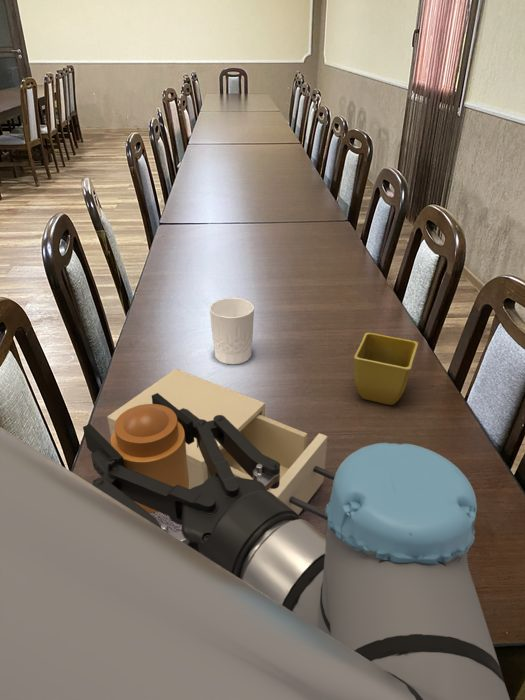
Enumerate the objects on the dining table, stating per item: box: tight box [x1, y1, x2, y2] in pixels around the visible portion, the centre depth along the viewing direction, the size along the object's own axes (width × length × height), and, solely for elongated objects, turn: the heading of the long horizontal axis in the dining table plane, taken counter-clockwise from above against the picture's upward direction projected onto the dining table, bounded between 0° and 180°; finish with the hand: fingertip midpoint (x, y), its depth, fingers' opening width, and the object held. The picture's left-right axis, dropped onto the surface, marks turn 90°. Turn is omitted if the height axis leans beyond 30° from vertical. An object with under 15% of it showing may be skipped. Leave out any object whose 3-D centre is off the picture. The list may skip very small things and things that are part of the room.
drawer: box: [207, 414, 336, 521], centre depth 67 cm, size 22×12×8 cm, turn 58°
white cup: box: [209, 297, 255, 365], centre depth 98 cm, size 8×8×10 cm
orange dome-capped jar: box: [109, 404, 189, 514], centre depth 54 cm, size 7×7×10 cm
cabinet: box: [106, 368, 266, 489], centre depth 73 cm, size 16×14×10 cm
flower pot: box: [353, 332, 419, 406], centre depth 88 cm, size 9×9×9 cm
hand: (123, 419), depth 56 cm, fingers closed on orange dome-capped jar, 7 cm apart
